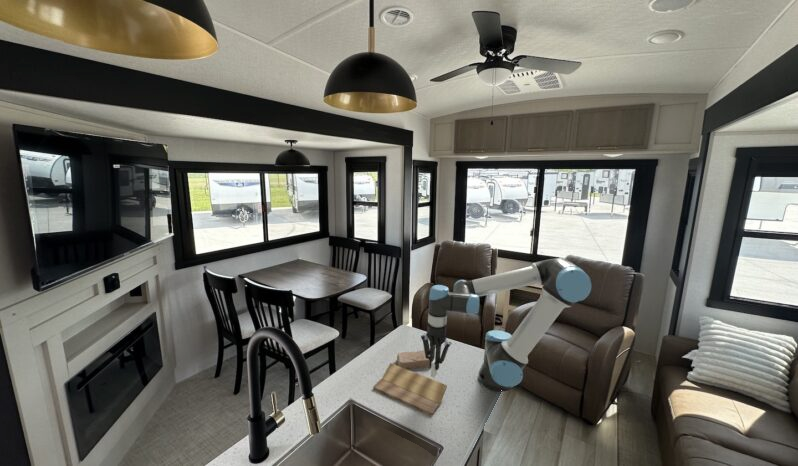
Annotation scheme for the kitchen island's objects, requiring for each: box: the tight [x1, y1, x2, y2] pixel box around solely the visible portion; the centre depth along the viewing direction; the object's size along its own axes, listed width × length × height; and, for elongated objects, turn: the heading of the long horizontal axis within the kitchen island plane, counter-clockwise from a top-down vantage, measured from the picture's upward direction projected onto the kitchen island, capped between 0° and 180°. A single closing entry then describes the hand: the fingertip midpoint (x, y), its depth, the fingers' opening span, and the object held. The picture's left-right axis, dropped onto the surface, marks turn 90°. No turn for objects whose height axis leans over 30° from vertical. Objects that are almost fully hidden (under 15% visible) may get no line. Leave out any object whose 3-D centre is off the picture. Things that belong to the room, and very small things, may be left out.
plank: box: [381, 362, 448, 406], centre depth 134 cm, size 28×8×1 cm
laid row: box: [372, 378, 440, 417], centre depth 128 cm, size 28×6×1 cm, turn 58°
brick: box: [396, 349, 430, 370], centre depth 152 cm, size 17×8×5 cm, turn 99°
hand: (433, 375), depth 130 cm, fingers closed
